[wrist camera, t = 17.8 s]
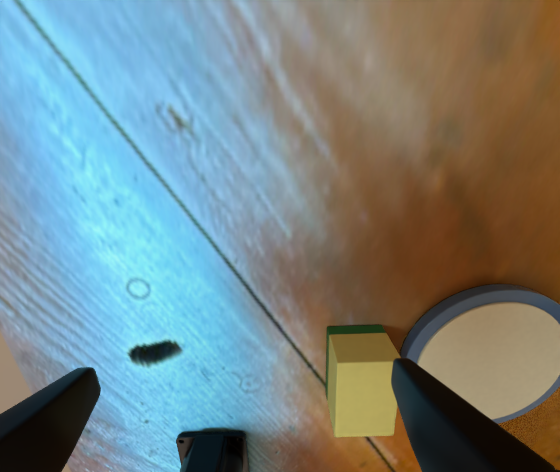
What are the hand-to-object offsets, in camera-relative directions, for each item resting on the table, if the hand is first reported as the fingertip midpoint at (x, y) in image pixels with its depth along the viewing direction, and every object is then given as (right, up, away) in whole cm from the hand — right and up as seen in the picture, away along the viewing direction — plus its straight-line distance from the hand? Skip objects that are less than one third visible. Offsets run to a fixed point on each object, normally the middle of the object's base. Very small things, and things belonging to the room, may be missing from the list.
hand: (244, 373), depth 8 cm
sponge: (+7, -7, +15) cm, 18 cm away
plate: (+18, -6, +15) cm, 24 cm away
